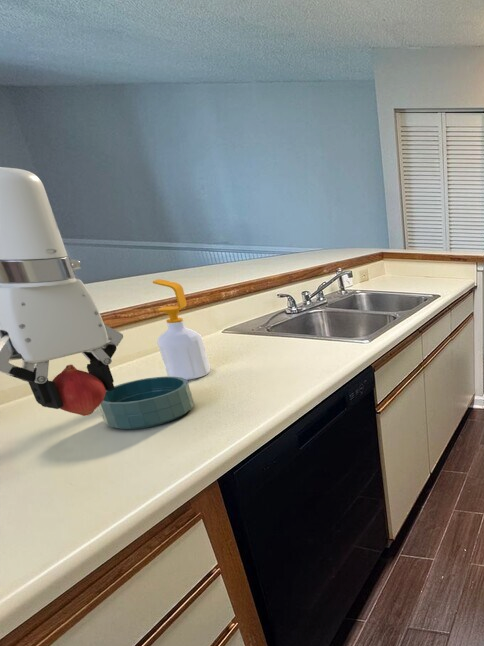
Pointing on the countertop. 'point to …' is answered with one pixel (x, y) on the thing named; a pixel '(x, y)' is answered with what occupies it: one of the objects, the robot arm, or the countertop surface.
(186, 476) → the countertop surface
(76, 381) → the onion
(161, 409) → the bowl
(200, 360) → the soap bottle
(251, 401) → the countertop surface
